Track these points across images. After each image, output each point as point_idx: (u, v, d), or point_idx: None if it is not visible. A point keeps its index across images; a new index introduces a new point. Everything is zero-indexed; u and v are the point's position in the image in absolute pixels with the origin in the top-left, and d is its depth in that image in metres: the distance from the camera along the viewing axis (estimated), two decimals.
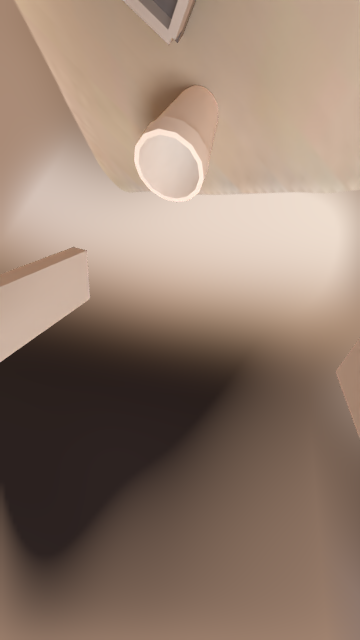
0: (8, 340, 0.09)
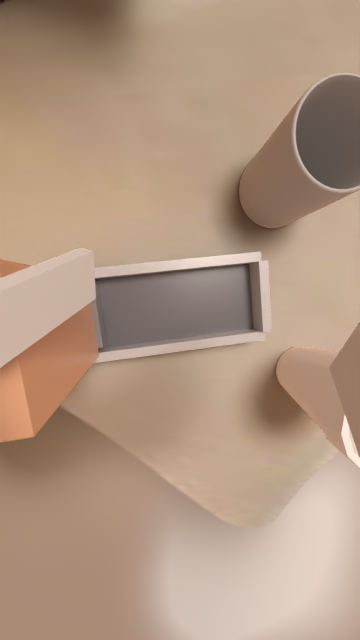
0: (18, 339, 0.09)
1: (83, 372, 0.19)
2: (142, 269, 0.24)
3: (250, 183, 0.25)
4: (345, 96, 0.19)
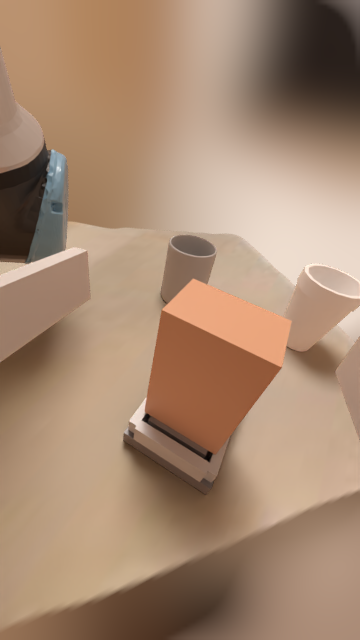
0: (9, 340, 0.09)
1: None
2: None
3: (175, 291, 0.43)
4: (177, 243, 0.44)
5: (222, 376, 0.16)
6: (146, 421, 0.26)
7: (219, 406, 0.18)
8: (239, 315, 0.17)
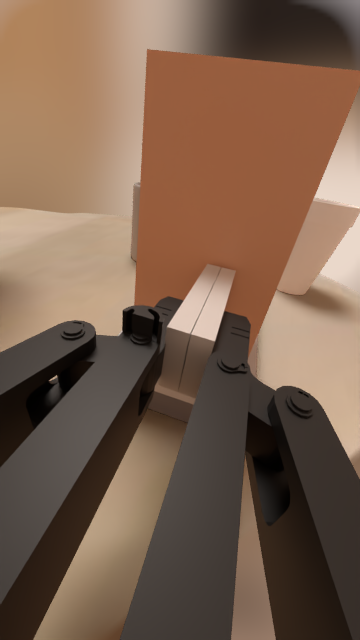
0: None
1: None
2: None
3: None
4: None
5: (255, 167, 0.10)
6: None
7: (252, 244, 0.12)
8: None
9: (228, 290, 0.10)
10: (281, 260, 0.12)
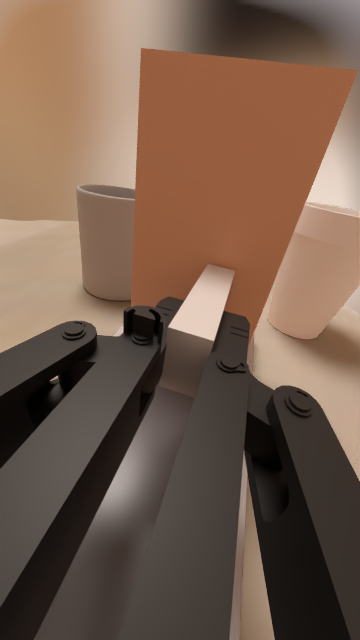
0: None
1: None
2: None
3: (100, 271, 0.26)
4: None
5: (250, 165, 0.10)
6: None
7: (247, 243, 0.12)
8: None
9: (227, 290, 0.10)
10: (276, 259, 0.12)
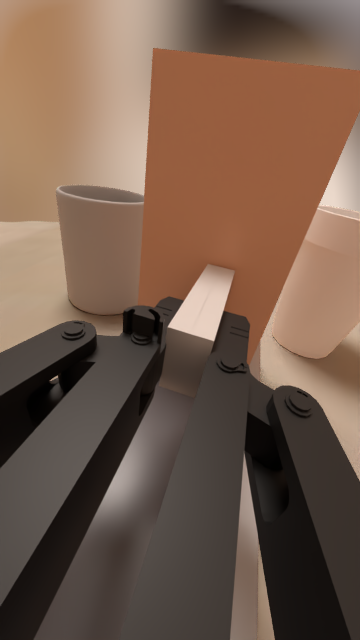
0: None
1: None
2: None
3: (85, 283, 0.23)
4: None
5: (262, 168, 0.10)
6: None
7: (258, 246, 0.12)
8: None
9: (227, 290, 0.10)
10: (287, 262, 0.12)
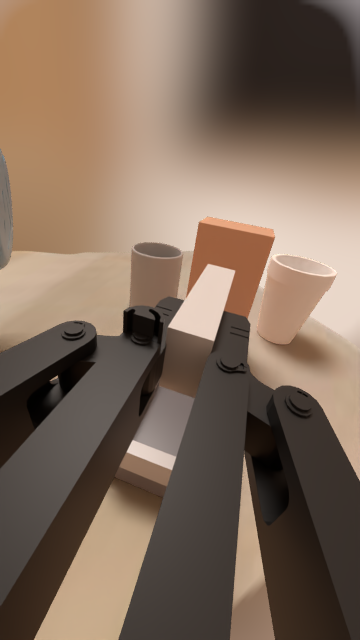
0: None
1: None
2: None
3: (145, 300, 0.40)
4: (141, 251, 0.42)
5: (240, 261, 0.26)
6: None
7: (240, 289, 0.28)
8: (242, 226, 0.27)
9: (227, 290, 0.10)
10: (252, 296, 0.28)
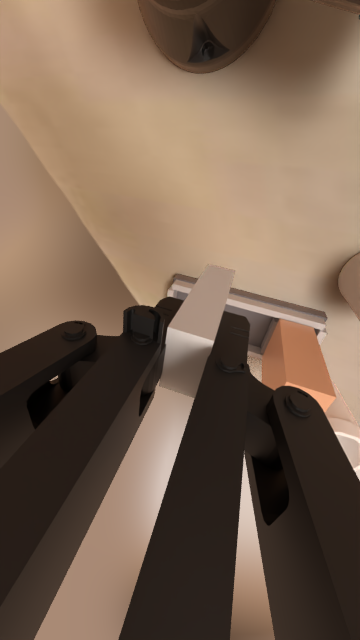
0: None
1: None
2: (240, 305, 0.38)
3: (347, 279, 0.32)
4: None
5: None
6: None
7: (266, 379, 0.34)
8: None
9: (227, 290, 0.10)
10: None
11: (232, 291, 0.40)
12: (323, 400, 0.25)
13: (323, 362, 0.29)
